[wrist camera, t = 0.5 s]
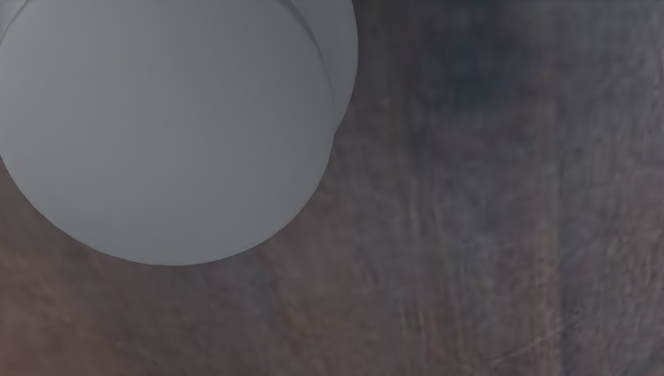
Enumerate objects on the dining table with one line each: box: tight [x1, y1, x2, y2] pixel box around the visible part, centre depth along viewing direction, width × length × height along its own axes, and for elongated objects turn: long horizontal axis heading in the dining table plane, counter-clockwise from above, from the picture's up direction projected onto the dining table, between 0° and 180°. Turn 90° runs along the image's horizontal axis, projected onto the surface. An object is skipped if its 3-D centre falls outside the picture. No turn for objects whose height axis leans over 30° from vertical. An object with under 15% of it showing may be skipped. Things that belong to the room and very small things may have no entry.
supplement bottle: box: [0, 0, 358, 266], centre depth 14 cm, size 7×7×13 cm
